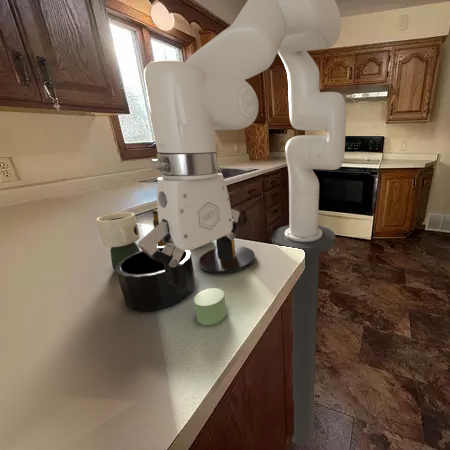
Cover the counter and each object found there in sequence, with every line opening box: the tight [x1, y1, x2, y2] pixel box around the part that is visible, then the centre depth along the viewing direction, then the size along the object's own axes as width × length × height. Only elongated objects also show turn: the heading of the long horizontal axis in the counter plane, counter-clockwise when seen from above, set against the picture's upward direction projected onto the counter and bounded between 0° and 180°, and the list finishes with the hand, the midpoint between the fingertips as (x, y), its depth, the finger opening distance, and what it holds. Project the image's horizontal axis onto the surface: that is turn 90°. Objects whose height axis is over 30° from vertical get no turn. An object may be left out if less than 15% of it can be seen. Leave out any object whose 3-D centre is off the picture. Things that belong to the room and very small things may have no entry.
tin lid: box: [198, 238, 256, 274], centre depth 61 cm, size 14×14×6 cm
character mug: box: [96, 211, 141, 271], centre depth 57 cm, size 11×7×13 cm, turn 45°
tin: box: [115, 246, 196, 313], centre depth 49 cm, size 13×13×8 cm
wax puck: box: [193, 287, 227, 326], centre depth 43 cm, size 5×5×4 cm
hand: (204, 271), depth 40 cm, fingers open, 9 cm apart
